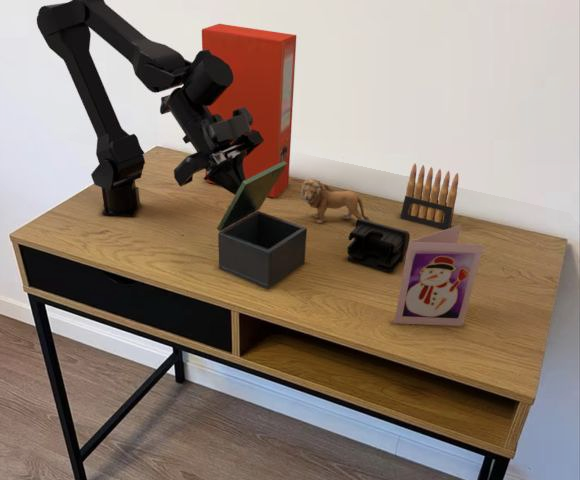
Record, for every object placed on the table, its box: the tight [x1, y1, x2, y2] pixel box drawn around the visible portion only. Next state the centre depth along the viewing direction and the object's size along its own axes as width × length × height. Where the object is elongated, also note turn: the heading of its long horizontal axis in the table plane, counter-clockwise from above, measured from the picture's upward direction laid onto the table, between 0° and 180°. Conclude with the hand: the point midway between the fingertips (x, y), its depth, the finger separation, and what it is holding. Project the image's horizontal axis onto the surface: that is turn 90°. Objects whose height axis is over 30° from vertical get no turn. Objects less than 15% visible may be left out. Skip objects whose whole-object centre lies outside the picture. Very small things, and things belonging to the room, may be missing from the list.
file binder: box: [201, 23, 297, 198], centre depth 136 cm, size 8×17×32 cm, turn 67°
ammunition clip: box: [400, 163, 460, 230], centre depth 131 cm, size 11×2×12 cm, turn 62°
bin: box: [217, 210, 308, 290], centre depth 115 cm, size 11×12×7 cm
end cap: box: [346, 218, 411, 274], centre depth 119 cm, size 10×7×7 cm
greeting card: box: [393, 224, 485, 327], centre depth 102 cm, size 11×7×15 cm, turn 90°
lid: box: [216, 161, 287, 233], centre depth 110 cm, size 12×12×1 cm
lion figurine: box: [300, 178, 370, 226], centre depth 131 cm, size 15×5×9 cm, turn 94°
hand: (247, 198), depth 111 cm, fingers closed, pressing on lid
